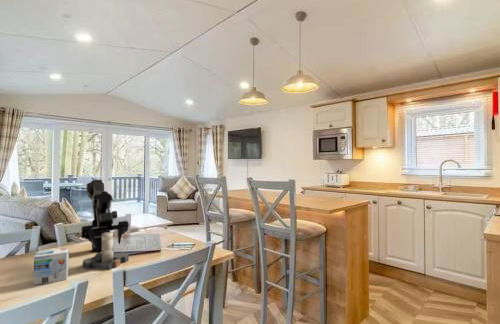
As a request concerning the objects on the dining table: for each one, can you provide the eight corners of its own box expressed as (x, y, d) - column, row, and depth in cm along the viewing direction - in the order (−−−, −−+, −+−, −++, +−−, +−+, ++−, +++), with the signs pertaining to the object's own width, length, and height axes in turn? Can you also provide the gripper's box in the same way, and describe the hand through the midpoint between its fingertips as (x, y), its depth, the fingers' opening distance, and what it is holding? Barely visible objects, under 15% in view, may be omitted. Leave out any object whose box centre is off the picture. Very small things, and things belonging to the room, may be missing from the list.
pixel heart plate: (78, 268, 121) (78, 262, 121) (103, 256, 136) (103, 250, 136) (110, 271, 118) (110, 265, 118) (132, 258, 133) (132, 252, 133)
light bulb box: (33, 285, 104) (32, 256, 104) (36, 278, 110) (36, 251, 110) (67, 279, 109) (67, 252, 109) (69, 273, 115) (69, 247, 115)
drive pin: (99, 267, 122) (99, 234, 122) (105, 263, 126) (105, 232, 126) (109, 267, 121) (109, 234, 121) (115, 263, 126) (114, 232, 126)
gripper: (81, 207, 121) (84, 239, 112) (127, 203, 132) (133, 231, 123) (79, 222, 128) (82, 253, 119) (124, 217, 139) (129, 245, 130)
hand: (107, 245), depth 122 cm, fingers open, 9 cm apart
